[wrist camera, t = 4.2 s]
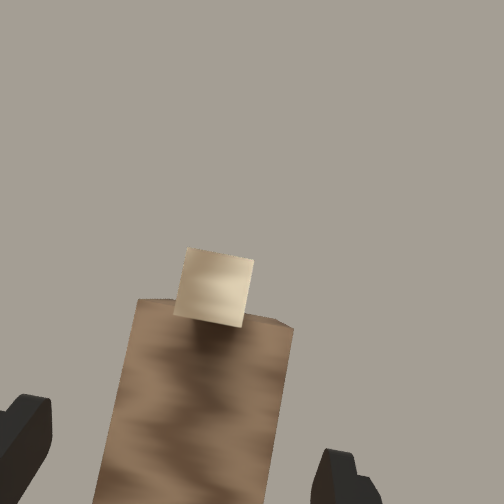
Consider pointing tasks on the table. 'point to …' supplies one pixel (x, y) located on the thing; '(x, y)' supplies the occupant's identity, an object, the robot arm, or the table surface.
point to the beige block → (213, 287)
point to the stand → (194, 410)
